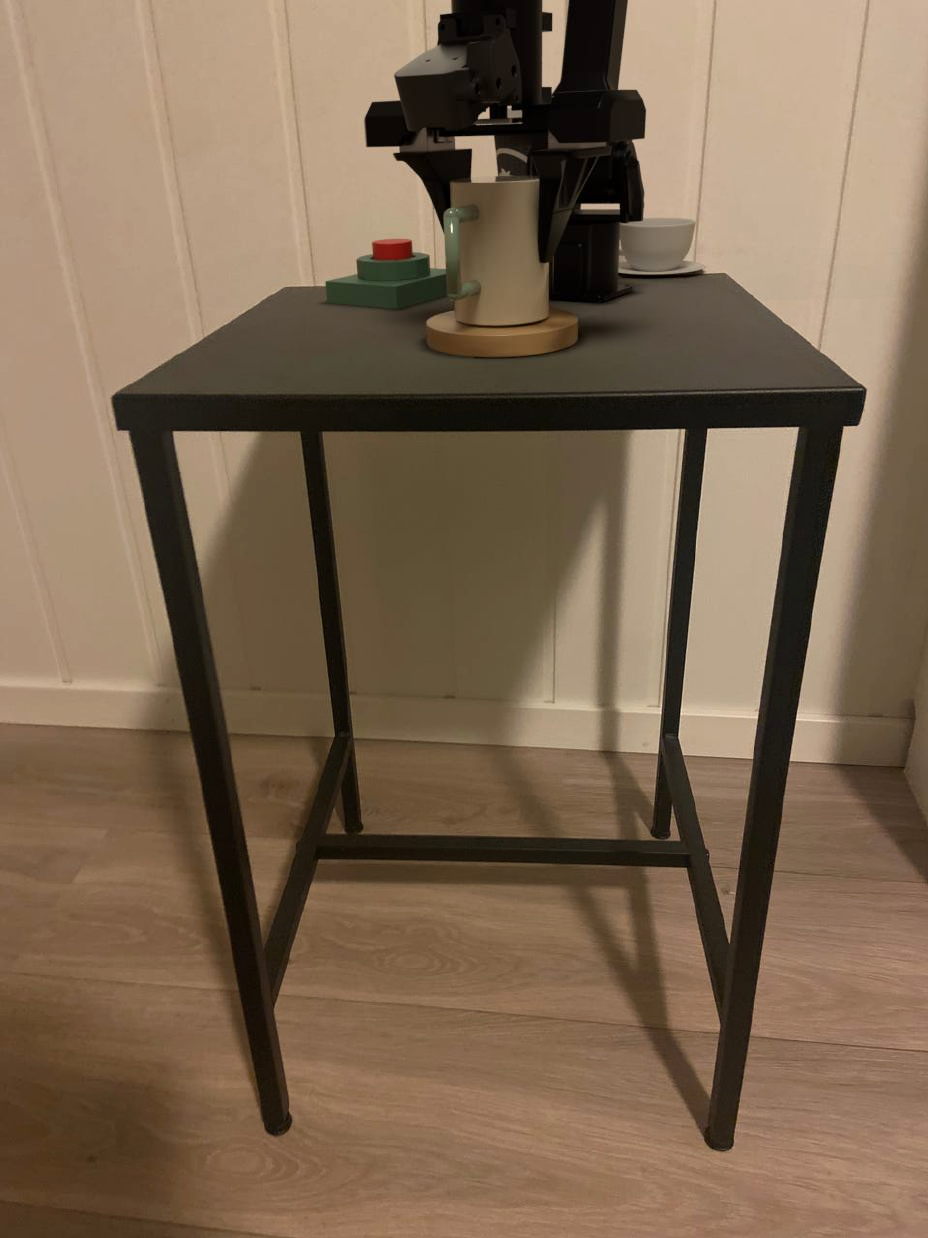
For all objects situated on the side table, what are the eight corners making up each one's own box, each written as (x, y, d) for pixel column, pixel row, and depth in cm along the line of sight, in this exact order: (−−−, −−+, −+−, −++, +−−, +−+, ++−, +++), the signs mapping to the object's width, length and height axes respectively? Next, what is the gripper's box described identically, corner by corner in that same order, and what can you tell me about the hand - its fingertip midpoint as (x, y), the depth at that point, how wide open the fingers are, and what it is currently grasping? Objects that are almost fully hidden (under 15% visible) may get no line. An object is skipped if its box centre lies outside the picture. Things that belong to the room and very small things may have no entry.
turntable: (479, 320, 75) (479, 301, 74) (603, 332, 69) (604, 311, 69) (396, 348, 67) (395, 327, 66) (529, 363, 62) (529, 340, 61)
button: (389, 257, 87) (388, 237, 86) (420, 259, 85) (419, 239, 85) (365, 263, 85) (363, 242, 84) (397, 265, 83) (395, 243, 82)
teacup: (715, 265, 96) (719, 216, 94) (690, 281, 88) (694, 227, 86) (621, 263, 100) (623, 215, 98) (590, 277, 92) (591, 226, 90)
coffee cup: (584, 288, 87) (589, 104, 80) (484, 288, 89) (479, 108, 82) (593, 272, 95) (598, 104, 88) (500, 273, 97) (498, 108, 90)
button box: (394, 286, 92) (391, 248, 90) (461, 290, 88) (460, 251, 86) (327, 302, 85) (323, 262, 83) (397, 309, 81) (394, 266, 79)
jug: (498, 301, 73) (496, 173, 68) (576, 307, 69) (578, 173, 65) (411, 328, 65) (402, 185, 60) (494, 337, 61) (491, 186, 57)
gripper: (297, -1, 57) (324, 269, 65) (567, -35, 48) (563, 285, 55) (406, 10, 65) (419, 249, 73) (656, -18, 56) (641, 260, 63)
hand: (500, 259), depth 66 cm, fingers closed on jug, 7 cm apart
